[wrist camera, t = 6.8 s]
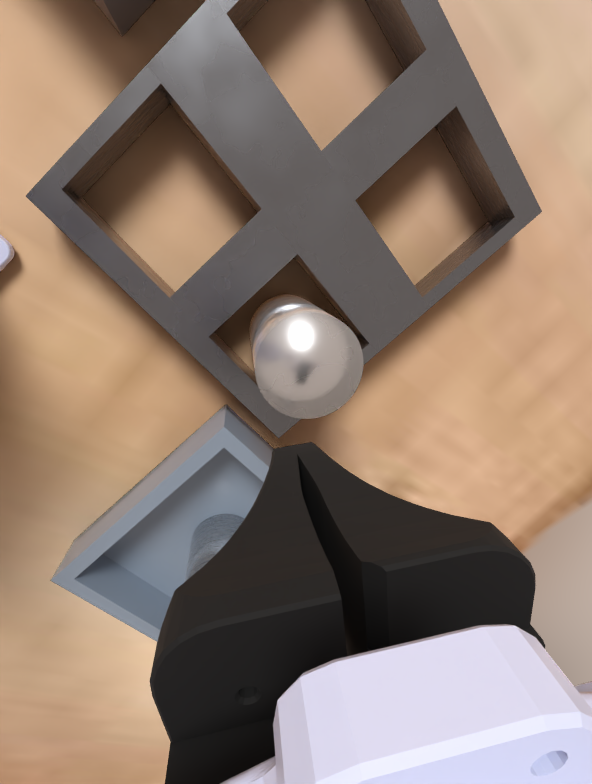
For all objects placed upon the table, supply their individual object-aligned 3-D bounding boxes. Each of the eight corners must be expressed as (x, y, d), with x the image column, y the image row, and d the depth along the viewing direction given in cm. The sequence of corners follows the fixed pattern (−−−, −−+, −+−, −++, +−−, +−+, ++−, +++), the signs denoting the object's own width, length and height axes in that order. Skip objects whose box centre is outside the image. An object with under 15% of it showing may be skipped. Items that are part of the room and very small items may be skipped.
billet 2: (283, 382, 21) (304, 438, 14) (233, 330, 20) (231, 366, 13) (337, 334, 20) (384, 370, 14) (290, 277, 19) (317, 287, 13)
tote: (223, 634, 27) (222, 678, 24) (74, 540, 22) (50, 580, 20) (358, 527, 25) (373, 561, 22) (225, 404, 21) (224, 426, 18)
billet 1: (224, 575, 24) (219, 692, 18) (177, 542, 23) (153, 656, 16) (269, 538, 24) (281, 644, 17) (224, 502, 22) (219, 603, 16)
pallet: (275, 422, 22) (278, 438, 20) (49, 202, 16) (25, 195, 15) (513, 216, 20) (542, 211, 18) (341, -109, 14) (357, -163, 13)
